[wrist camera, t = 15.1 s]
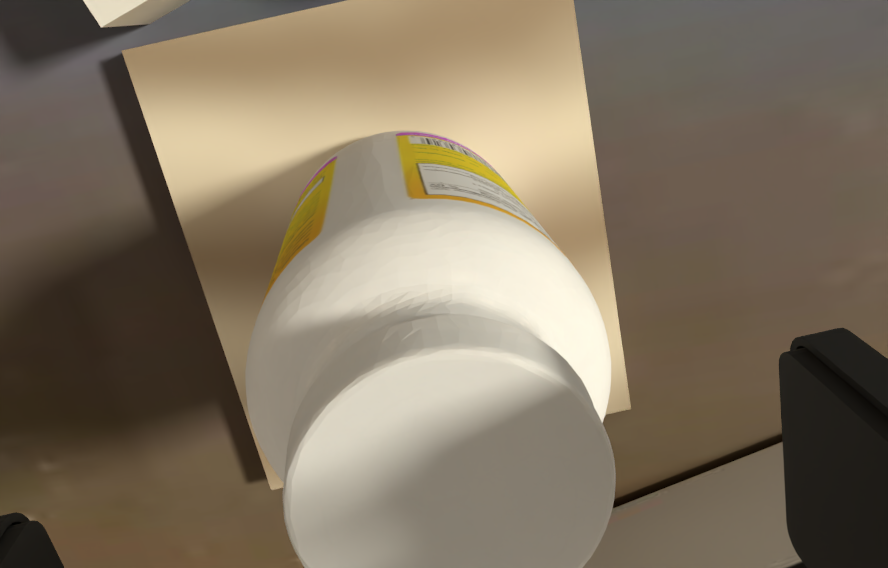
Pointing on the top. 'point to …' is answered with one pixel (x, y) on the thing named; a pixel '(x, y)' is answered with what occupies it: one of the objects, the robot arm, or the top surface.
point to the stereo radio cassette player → (706, 521)
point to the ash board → (368, 131)
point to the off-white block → (130, 11)
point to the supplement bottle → (430, 370)
